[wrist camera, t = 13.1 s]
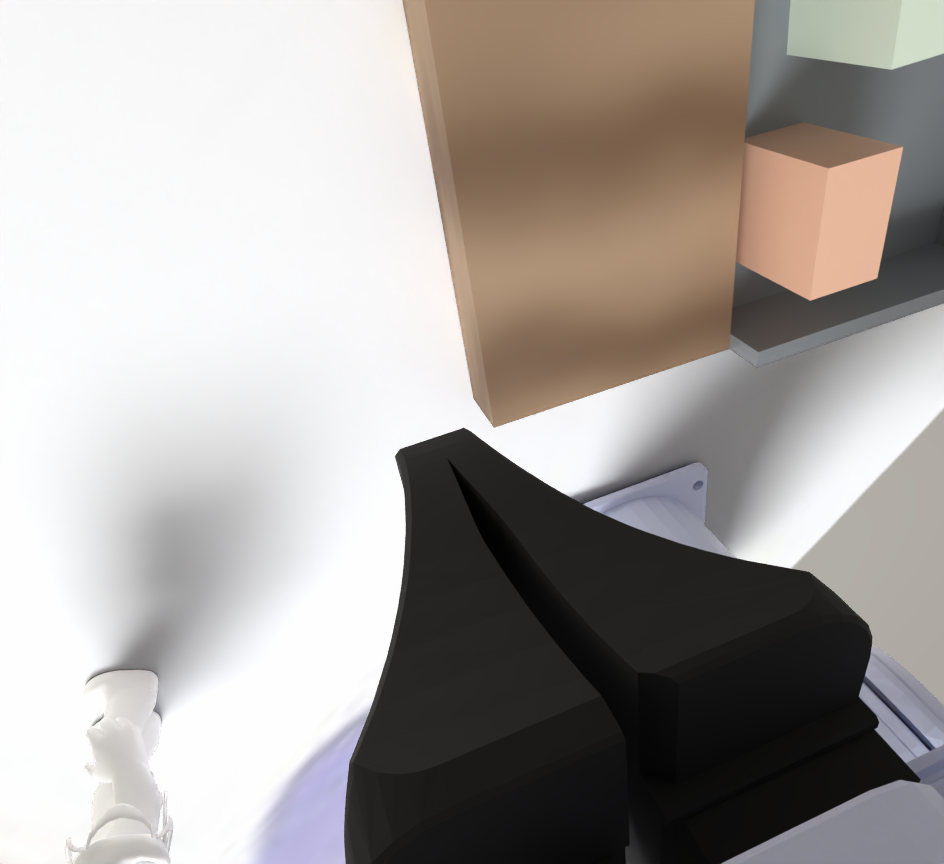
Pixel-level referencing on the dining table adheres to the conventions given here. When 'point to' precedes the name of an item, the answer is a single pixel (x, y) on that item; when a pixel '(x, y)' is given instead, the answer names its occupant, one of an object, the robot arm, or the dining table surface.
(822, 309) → the tray
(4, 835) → the dining table surface
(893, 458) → the dining table surface
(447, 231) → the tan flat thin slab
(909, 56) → the tile sage
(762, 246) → the tile terracotta
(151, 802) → the flower shoulder figurine
